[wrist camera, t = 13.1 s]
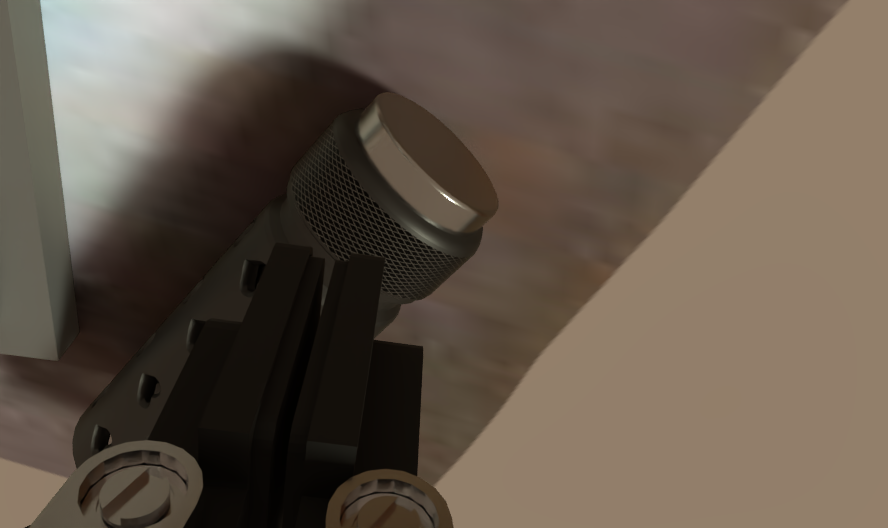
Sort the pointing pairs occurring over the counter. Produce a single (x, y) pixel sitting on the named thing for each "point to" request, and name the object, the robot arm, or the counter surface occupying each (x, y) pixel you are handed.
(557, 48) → the counter surface
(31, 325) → the switch unit
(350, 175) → the muzzle brake
